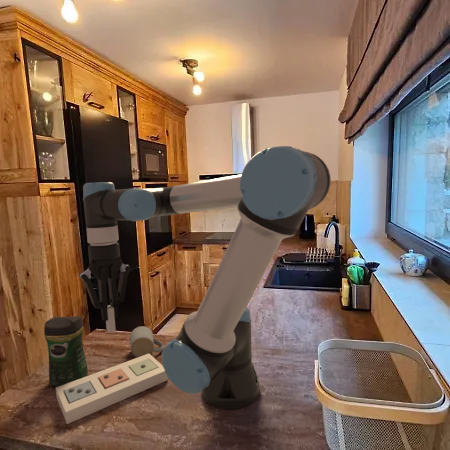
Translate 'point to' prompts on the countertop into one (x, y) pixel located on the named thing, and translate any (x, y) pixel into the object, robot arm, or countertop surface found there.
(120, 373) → the two-pip button
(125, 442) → the countertop surface
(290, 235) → the robot arm
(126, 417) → the countertop surface
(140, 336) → the ceramic mug
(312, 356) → the countertop surface
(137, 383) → the button panel
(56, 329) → the coffee jar
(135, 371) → the one-pip button
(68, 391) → the three-pip button
